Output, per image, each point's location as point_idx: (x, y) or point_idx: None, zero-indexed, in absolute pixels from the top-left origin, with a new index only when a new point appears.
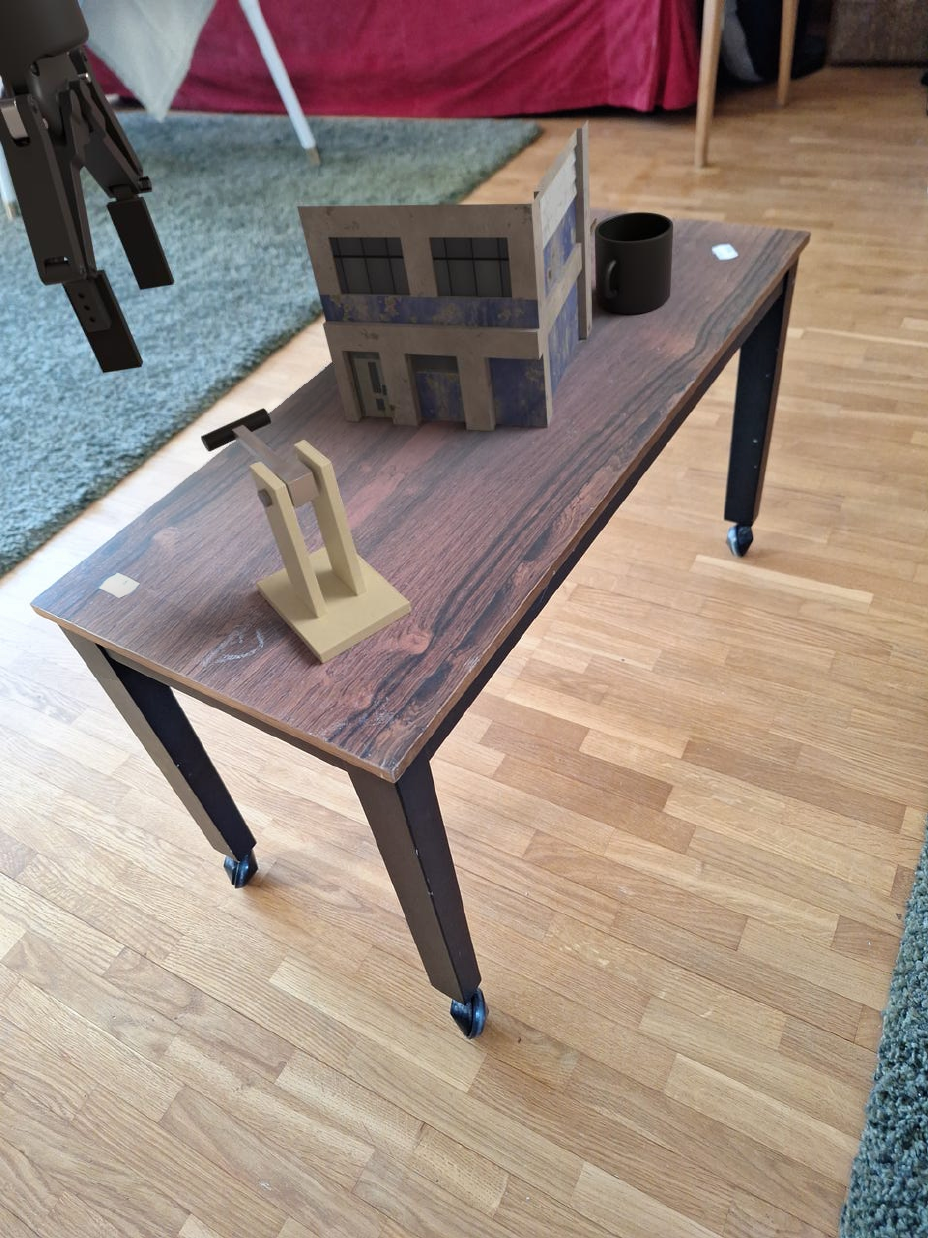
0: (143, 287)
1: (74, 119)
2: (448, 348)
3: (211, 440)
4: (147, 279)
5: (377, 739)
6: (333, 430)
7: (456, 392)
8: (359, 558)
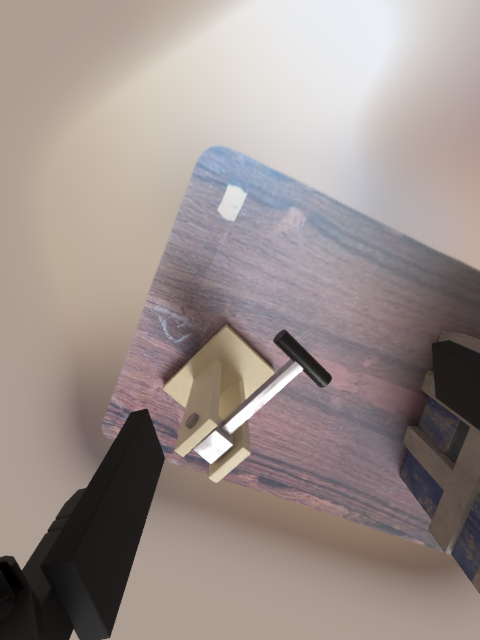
0: (433, 352)
1: None
2: (459, 469)
3: (278, 345)
4: (444, 368)
5: (113, 426)
6: (428, 322)
7: (437, 435)
8: (252, 391)
